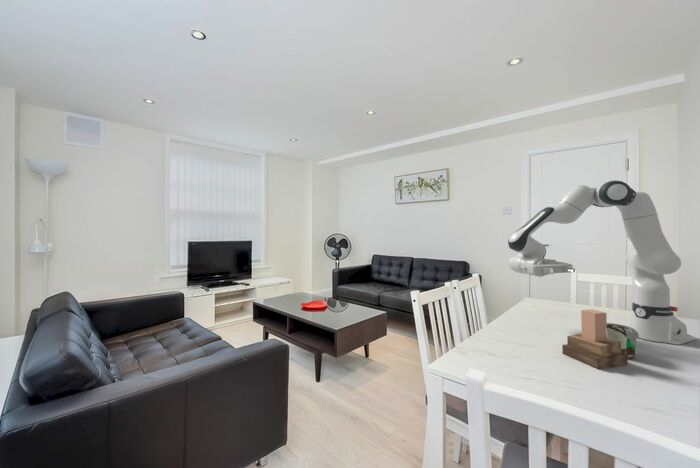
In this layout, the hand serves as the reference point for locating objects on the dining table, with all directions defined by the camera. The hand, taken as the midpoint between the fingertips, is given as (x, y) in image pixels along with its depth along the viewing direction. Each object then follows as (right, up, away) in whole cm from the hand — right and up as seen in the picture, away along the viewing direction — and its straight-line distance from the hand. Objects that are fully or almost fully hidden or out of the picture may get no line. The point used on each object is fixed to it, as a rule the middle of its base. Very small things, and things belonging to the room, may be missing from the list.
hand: (564, 270), depth 125 cm
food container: (+13, -30, -14) cm, 36 cm away
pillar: (-2, -23, -18) cm, 29 cm away
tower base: (-2, -31, -17) cm, 35 cm away
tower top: (-2, -27, -18) cm, 32 cm away
